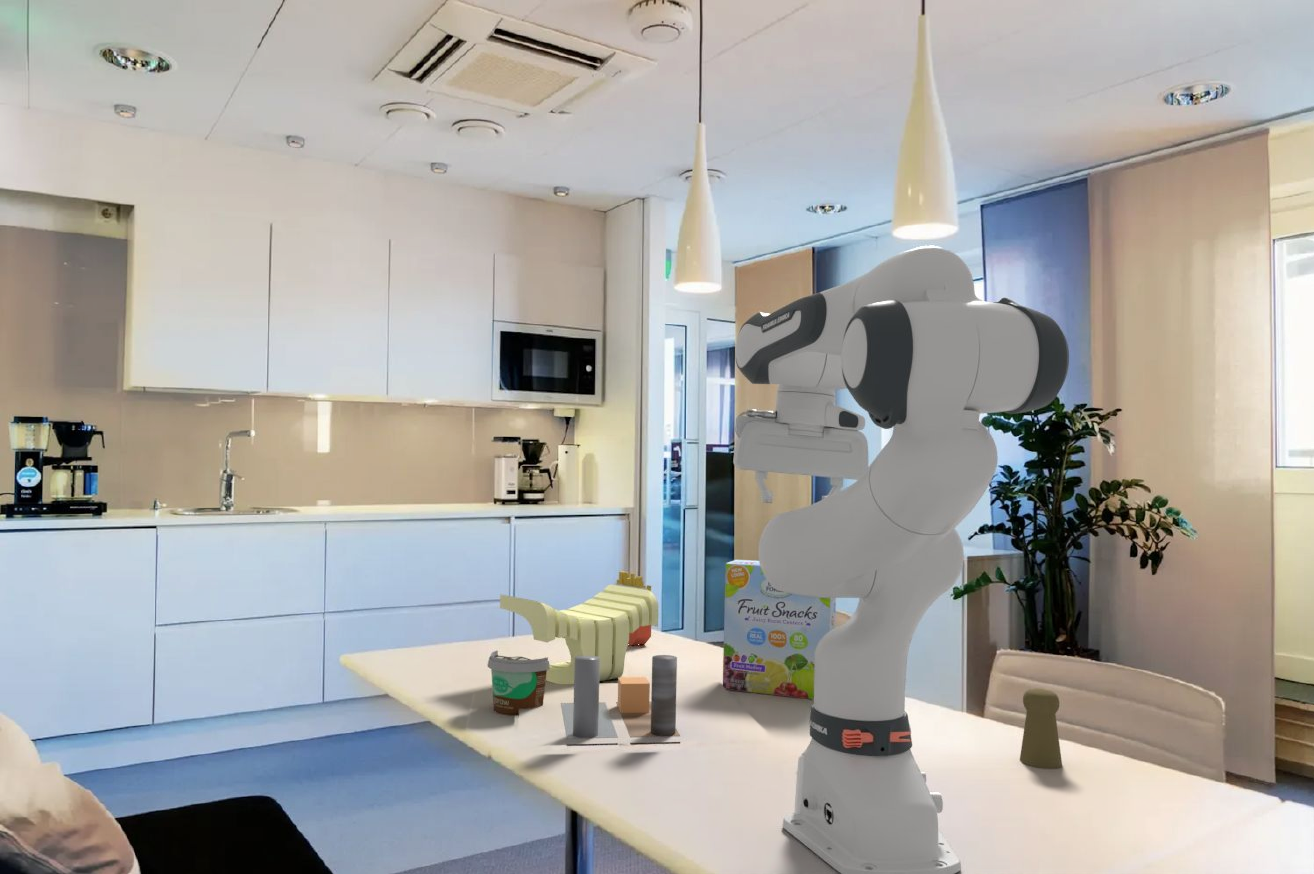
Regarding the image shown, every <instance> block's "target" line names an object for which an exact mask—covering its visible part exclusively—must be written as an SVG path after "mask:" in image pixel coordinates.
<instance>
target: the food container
mask: <svg viewBox="0 0 1314 874" xmlns="http://www.w3.org/2000/svg"><path fill="white" fill-rule="evenodd" d="M498 652H499V651H498V650H494V651H492V652H490V656H489V658H488V661H487V668H489V669H491V670H490V671H491V685H492V700H493V701H492V702H493V712H495V713H496V714H499V715H505V716H510V717H511V716H512V717H513V716H517V717H519V716H520V710H524V709H525V710H526V709H535V708H539V707H541V706H543V705H544V700H545V699H544V698H545V688H546V682H547V681H546V673H547V670H549V669H550V665H549V664H550V661H549V657H541V658H534V659H531V658H528V657H524V656H504V655H499V654H498Z"/></svg>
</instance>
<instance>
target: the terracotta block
mask: <svg viewBox="0 0 1314 874" xmlns="http://www.w3.org/2000/svg"><path fill="white" fill-rule="evenodd" d="M650 686H651V685H650V682H649V680H648V678H647V677H646V676H636V677H635V676H633V677H632V676H631V677H630V676H628V677H627V676H626V677H624V676H623V677H622V676H621V677H618V678H617V702H618V706H617V708H618V710H619V713H620V714H621V713H646V712H649V702H650V696H651V695H650V692H651V691H650V690H651V688H650Z"/></svg>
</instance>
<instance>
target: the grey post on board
mask: <svg viewBox="0 0 1314 874" xmlns="http://www.w3.org/2000/svg"><path fill="white" fill-rule="evenodd" d="M651 661H652V662H651V663H652V664H651V695H650V696H651V697H650V699H651V700H650V701H649V712H646V713H620V715H621V718H622V720H623V722H624V724H625V727H626V730H627V732H628V734H629V737H630V738H651V737H652V738H653V737H654V738H658V737H659V738H662V737H681V734H680V733H679V730H678V729H677V728H676V722H677V721H676V720H677V719H676V718H677V717H676V716H677V683H678V682H677V681H678V680H677V677H678V676H677V674H678V673H677V672H678V657H677V656H676V655H669V654H658V655H653V656H652V658H651ZM616 706H617V707H618V701H616ZM670 744H671V745H672V744H673V745H675V744H681V741H663V742H662V741H658V742H657V741H655V742H651V741H650V742H629V745H631V746H633V745H670Z"/></svg>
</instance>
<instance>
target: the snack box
mask: <svg viewBox="0 0 1314 874" xmlns="http://www.w3.org/2000/svg"><path fill="white" fill-rule="evenodd" d="M724 574H725V576H724V577H725V581H724V583H725V584H724V613H723V614H724V615H723V617H724V618H723V619H724V621H723V622H724V624H723V652H722V653H723V654H722V655H723V660H722V687H723V688H724V689H725V690H729V691H730V690H731V691H737V692H745V693H754V694H762V695H763V694H764V695H771V696H772V695H773V696H780V697H781V696H783V697H791V698H799V699H808V700H809V699H810V700H814V657H815V650H816V647H817V645H818V643H819V641H820V640H821V639H822V638H823V636H824V635H825V634H826V633H828V632H829V631H831V630H832V629H834V628H836V618H837V617H836V615H837V614H836V611H837V607H836V606H837V598H812V597H806V596H801V595H796V594H791V593H787V592H782V591H778V590H776V589H775V588H774V587H773V586H772V585H771V584H770V583H769V582H768V580H767V579H766V577H765V576H764V574H763V572H762V569H761V566H760V563H759V560H749V559H733V560H731V561H729V562H726V563H725V573H724Z"/></svg>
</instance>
